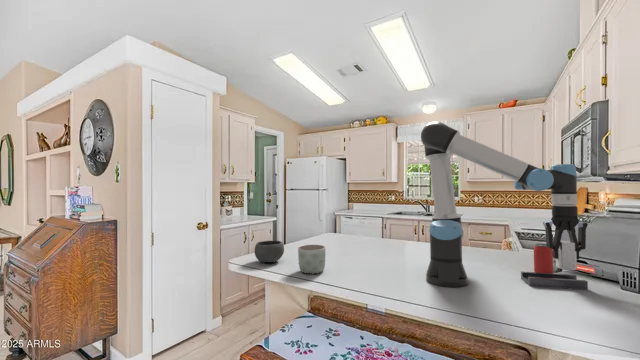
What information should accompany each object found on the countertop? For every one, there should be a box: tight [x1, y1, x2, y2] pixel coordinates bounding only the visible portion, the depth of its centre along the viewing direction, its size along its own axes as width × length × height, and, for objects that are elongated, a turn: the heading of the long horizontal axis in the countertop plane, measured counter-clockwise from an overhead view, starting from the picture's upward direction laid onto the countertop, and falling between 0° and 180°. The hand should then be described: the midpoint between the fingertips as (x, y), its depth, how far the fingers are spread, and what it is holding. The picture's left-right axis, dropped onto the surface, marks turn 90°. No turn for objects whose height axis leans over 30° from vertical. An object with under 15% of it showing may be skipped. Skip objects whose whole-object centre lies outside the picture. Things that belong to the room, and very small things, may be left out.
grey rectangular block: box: [559, 240, 577, 271], centre depth 112 cm, size 4×4×10 cm
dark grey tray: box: [520, 271, 589, 291], centre depth 113 cm, size 18×8×3 cm, turn 75°
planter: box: [297, 244, 327, 275], centre depth 134 cm, size 12×12×11 cm
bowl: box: [254, 240, 285, 263], centre depth 152 cm, size 15×15×10 cm
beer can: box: [533, 243, 554, 273], centre depth 127 cm, size 7×7×12 cm
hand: (566, 267), depth 112 cm, fingers closed on grey rectangular block, 4 cm apart
